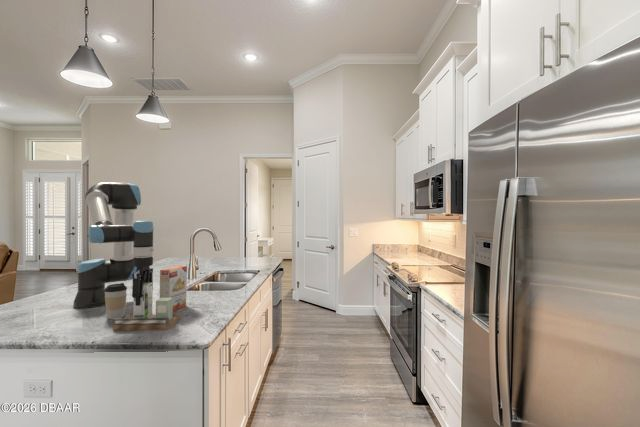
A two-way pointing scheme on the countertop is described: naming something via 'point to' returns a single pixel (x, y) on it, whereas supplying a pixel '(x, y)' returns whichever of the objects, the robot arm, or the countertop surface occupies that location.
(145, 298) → the syrup box
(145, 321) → the shelf board
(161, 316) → the pale green box
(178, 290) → the cracker box
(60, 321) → the countertop surface
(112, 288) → the coffee cup
